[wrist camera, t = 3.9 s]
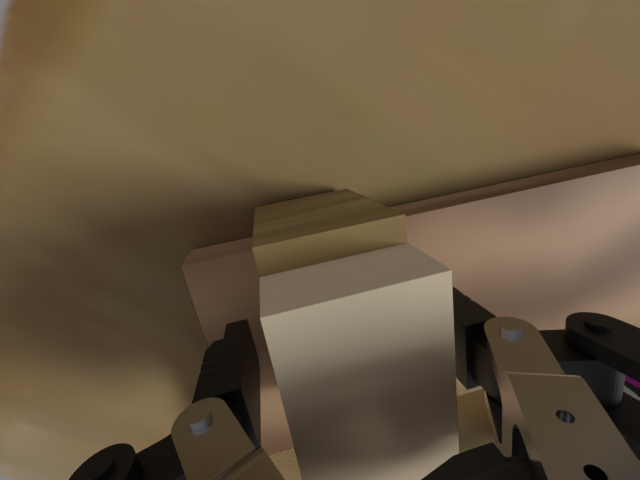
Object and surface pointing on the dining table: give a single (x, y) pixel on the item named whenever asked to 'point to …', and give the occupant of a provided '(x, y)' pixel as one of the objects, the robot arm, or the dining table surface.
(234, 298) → the board
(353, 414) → the cream rectangular block
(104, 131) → the dining table surface
